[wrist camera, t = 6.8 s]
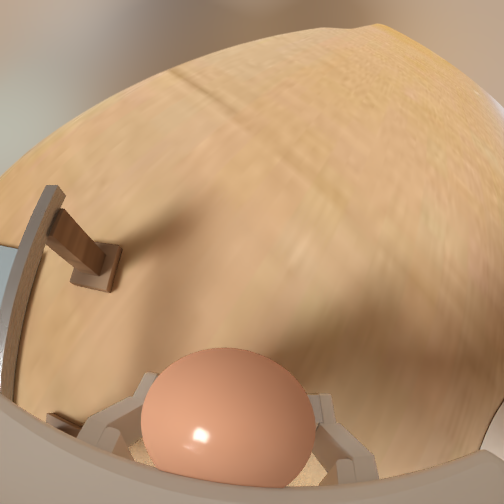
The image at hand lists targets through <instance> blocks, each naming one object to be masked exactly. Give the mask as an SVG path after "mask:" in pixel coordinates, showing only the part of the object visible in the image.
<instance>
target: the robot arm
mask: <svg viewBox="0 0 504 504" xmlns="http://www.w3.org/2000/svg"><path fill="white" fill-rule="evenodd" d="M159 375H160V374H157V373H153V372H149V371H147V372H146V373H145V374H144V376H143V378H142V380H141V382H140V384H139V386H138V387H137V389H136V391H135V393H134V395H133V397H131V396H129V397H127V398H125V399H123V400H121V401H120V402H118V403H116V404H114V405H112V406H110V407H108V408H106V409H104V410H102V411H100V412H98V413H96V414H94V415H92V416H90V417H88V419H87V420H86V422H85V424H84V425H83V427H82V429H81V430H80V432H79V434H78V436H77V437H76V438H75V437H73V436H71V435H69V434H67V433H65V432H63V431H61V430H59V429H57V428H55V427H53V426H51V425H50V424H48V423H46V422H44V421H42V420H41V419H39V418H37V417H36V416H34V415H32V414H31V413H29V412H27V411H26V410H24V409H23V408H21V407H20V406H18V405H16V404H15V403H13V402H12V401H11V400H9V399H8V398H6V397H5V396H3V395H2V394H1V393H0V504H504V402H503V403H502V405H501V406H500V408H499V409H498V411H497V413H496V415H495V416H494V418H493V420H492V422H491V424H490V426H489V428H488V431H487V433H486V435H485V438H484V440H483V443H482V446H481V448H480V450H478V451H476V452H473V453H471V454H468V455H466V456H463V457H460V458H458V459H455V460H452V461H449V462H446V463H443V464H440V465H437V466H433V467H430V468H427V469H423V470H419V471H415V472H412V473H407V474H403V475H399V476H394V477H389V478H384V479H379V476H378V471H377V466H376V462H375V457H374V455H373V454H372V453H371V452H370V451H369V450H368V449H367V448H365V447H364V446H363V445H362V444H361V443H360V442H359V441H358V440H357V439H356V438H355V437H354V436H353V435H352V434H351V433H350V432H349V431H347V430H346V429H345V428H344V427H343V426H342V425H341V424H340V423H336V418H335V412H334V407H333V401H332V396H331V394H323V393H306V394H307V396H308V398H309V400H310V403H311V405H312V408H313V412H314V416H315V425H316V432H315V441H314V446H313V449H312V453H313V454H314V455H315V457H316V458H317V459H318V461H319V462H320V463H321V465H322V466H323V467H324V469H325V470H326V471H327V473H328V474H327V475H326V476H325V477H324V479H323V480H322V481H321V482H320V484H319V486H285V487H284V488H265V487H251V486H240V485H232V484H224V483H217V482H211V481H205V480H199V479H194V478H189V477H185V476H180V475H176V474H172V473H168V472H164V471H160V470H158V468H156V467H152V466H149V465H145V464H142V463H139V462H136V461H134V458H133V457H132V455H131V453H130V451H129V449H128V447H130V446H131V445H132V444H134V443H135V442H136V441H138V440H139V439H140V438H142V431H141V413H142V407H143V403H144V400H145V397H146V395H147V393H148V391H149V389H150V387H151V385H152V384H153V382H154V381H155V380H156V378H157V377H158V376H159Z"/></svg>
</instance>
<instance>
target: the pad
mask: <svg viewBox="0 0 504 504" xmlns="http://www.w3.org/2000/svg"><path fill="white" fill-rule="evenodd" d="M17 251H18V249H15V248H10V247H5V246H1V245H0V308H1V303H2V299H3V296H4V292H5V288H6V285H7V281H8V278H9V274H10V271H11V268H12V265H13V262H14V259H15V256H16V253H17ZM40 260H41V258H40ZM39 262H40V261H39ZM38 266H39V264H38ZM37 269H38V267H37ZM36 272H37V270H36ZM35 275H36V274H35ZM34 278H35V277H34ZM33 282H34V280H33ZM32 285H33V284H32ZM31 289H32V287H31ZM30 292H31V291H30ZM29 296H30V294H29ZM28 300H29V298H28ZM27 304H28V302H27ZM26 308H27V306H26ZM25 312H26V310H25ZM24 316H25V314H24ZM23 321H24V319H23ZM22 325H23V323H22ZM21 330H22V328H21ZM20 336H21V333H20ZM19 341H20V339H19ZM18 347H19V344H18ZM17 353H18V351H17ZM16 360H17V357H16ZM15 368H16V365H15ZM14 377H15V373H14ZM13 388H14V383H13ZM12 402H13V397H12Z"/></svg>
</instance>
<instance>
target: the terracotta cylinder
mask: <svg viewBox="0 0 504 504" xmlns="http://www.w3.org/2000/svg"><path fill="white" fill-rule="evenodd" d="M141 431H142V437H143V441H144V445H145V447H146V450H147V452H148V454H149V456H150V458H151V460H152V461H153V463H154V465H155V466H156V467H157V468H158V470H160V471H164V472H168V473H172V474H176V475H180V476H185V477H189V478H194V479H199V480H205V481H211V482H217V483H224V484H232V485H240V486H251V487H265V488H284V487H285V486H287V485H288V484H289V483H291V482H292V481H293V480H294V479H295V478H296V477H297V476H298V474H299V473H300V472H301V471H302V469H303V468H304V466H305V465H306V463H307V461H308V459H309V457H310V455H311V452H312V449H313V446H314V441H315V432H316V425H315V416H314V412H313V408H312V405H311V403H310V400H309V398H308V396H307V394H306V392H305V391H304V389H303V387H302V386H301V385H300V383H299V382H298V381H297V379H296V378H294V377H293V376H292V375H291V374H290V373H289V372H288V371H287V370H286V369H285V368H283V367H282V366H281V365H279V364H278V363H276V362H274V361H273V360H271V359H269V358H267V357H265V356H262V355H260V354H257V353H254V352H251V351H247V350H241V349H235V348H213V349H207V350H202V351H198V352H195V353H192V354H189V355H187V356H185V357H183V358H181V359H179V360H177V361H176V362H174V363H172V364H171V365H170V366H169V367H167V368H166V369H165V370H164V371H163V372H162V373H161V374H160V375H159V376H158V377H157V378H156V380H155V381H154V382H153V384H152V385H151V387H150V389H149V391H148V393H147V395H146V397H145V400H144V403H143V407H142V413H141Z"/></svg>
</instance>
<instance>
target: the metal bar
mask: <svg viewBox="0 0 504 504" xmlns="http://www.w3.org/2000/svg"><path fill="white" fill-rule="evenodd" d="M65 197H66V195H65V194H64V193H63V191H62V190H61V189H60V187H59V186H58V185H46V187H45V189H44V191H43V193H42V195H41V197H40V199H39V201H38V203H37V205H36V207H35V209H34V211H33V214H32V216H31V218H30V220H29V223H28V225H27V228H26V230H25V232H24V235H23V237H22V240H21V243H20V245H19V248H18V251H17V253H16V256H15V259H14V262H13V265H12V268H11V271H10V274H9V278H8V281H7V285H6V288H5V292H4V296H3V299H2V303H1V308H0V393H1V394H2V395H3V396H5V397H6V398H8V399H9V400H11V401H12V397H13V383H14V373H15V365H16V357H17V351H18V344H19V339H20V333H21V328H22V323H23V319H24V314H25V310H26V306H27V302H28V298H29V294H30V291H31V287H32V284H33V280H34V277H35V274H36V270H37V267H38V264H39V261H40V258H41V255H42V253H43V250H44V247H45V244H46V242H47V239H48V236H49V234H50V231H51V229H52V226H53V224H54V221H55V219H56V217H57V214H58V212H59V210H60V208H61V205H62V203H63V201H64V199H65Z"/></svg>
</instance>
